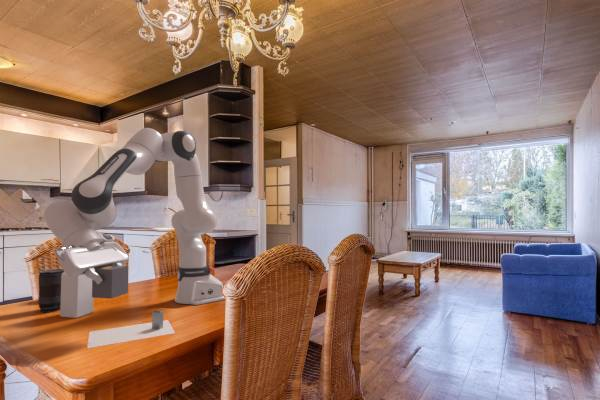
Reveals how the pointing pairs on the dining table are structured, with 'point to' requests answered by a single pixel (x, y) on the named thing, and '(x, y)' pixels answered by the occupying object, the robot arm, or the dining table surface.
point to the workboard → (127, 334)
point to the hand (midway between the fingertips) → (112, 279)
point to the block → (111, 282)
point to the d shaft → (157, 319)
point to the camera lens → (50, 290)
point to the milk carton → (76, 296)
